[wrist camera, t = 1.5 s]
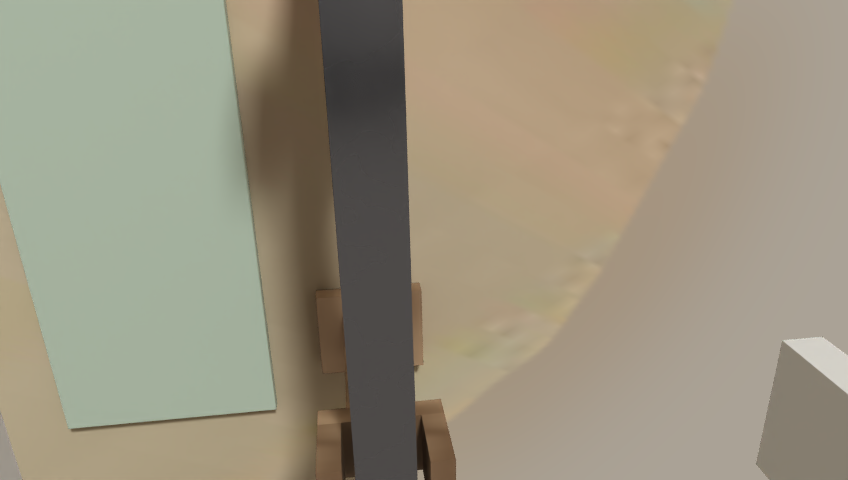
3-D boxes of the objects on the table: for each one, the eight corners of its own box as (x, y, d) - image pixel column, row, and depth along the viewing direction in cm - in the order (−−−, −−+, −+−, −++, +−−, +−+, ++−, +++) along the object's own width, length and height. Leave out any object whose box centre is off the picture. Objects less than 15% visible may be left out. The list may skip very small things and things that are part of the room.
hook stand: (323, 364, 40) (317, 552, 27) (270, -201, 29) (218, -343, 16) (421, 355, 40) (461, 535, 27) (406, -200, 29) (462, -336, 16)
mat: (72, 422, 39) (68, 428, 38) (-120, -277, 26) (-130, -283, 26) (276, 403, 40) (276, 409, 40) (190, -272, 27) (187, -277, 27)
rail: (358, 502, 30) (360, 546, 28) (296, -316, 19) (290, -357, 16) (412, 496, 30) (419, 539, 28) (384, -314, 19) (391, -354, 17)
